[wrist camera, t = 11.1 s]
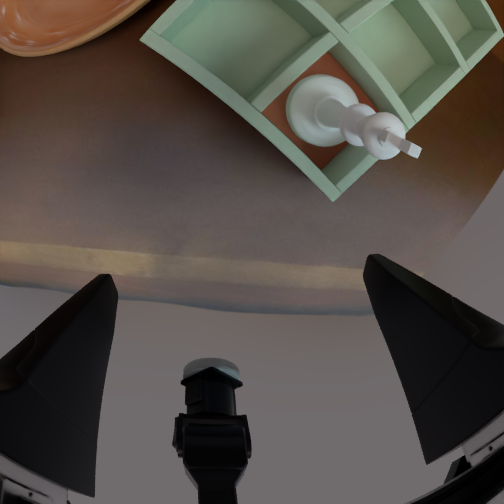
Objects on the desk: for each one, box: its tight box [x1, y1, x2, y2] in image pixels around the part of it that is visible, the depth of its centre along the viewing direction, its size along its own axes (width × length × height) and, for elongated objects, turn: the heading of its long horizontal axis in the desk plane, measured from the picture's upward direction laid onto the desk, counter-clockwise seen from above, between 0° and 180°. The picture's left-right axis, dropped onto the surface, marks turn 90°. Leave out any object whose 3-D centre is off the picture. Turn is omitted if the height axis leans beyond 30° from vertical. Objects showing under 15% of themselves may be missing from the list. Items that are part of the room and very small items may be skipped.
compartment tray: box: [140, 0, 504, 202], centre depth 11 cm, size 22×15×4 cm
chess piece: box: [286, 74, 422, 160], centre depth 12 cm, size 5×5×10 cm
